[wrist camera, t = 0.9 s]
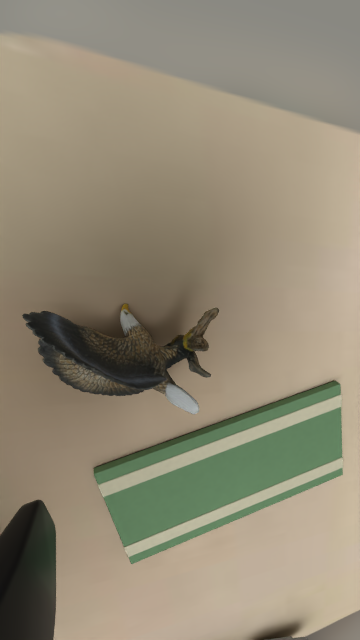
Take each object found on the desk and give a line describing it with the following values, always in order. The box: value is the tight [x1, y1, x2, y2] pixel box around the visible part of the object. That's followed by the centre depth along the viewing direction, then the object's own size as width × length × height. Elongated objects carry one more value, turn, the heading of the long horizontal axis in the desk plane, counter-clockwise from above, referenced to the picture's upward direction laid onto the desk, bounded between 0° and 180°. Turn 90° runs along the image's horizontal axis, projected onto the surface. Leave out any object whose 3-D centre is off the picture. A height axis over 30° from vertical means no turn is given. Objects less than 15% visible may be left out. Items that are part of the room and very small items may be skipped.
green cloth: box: [94, 381, 343, 564], centre depth 25 cm, size 20×10×1 cm, turn 102°
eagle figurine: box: [22, 304, 219, 414], centre depth 17 cm, size 8×7×9 cm
